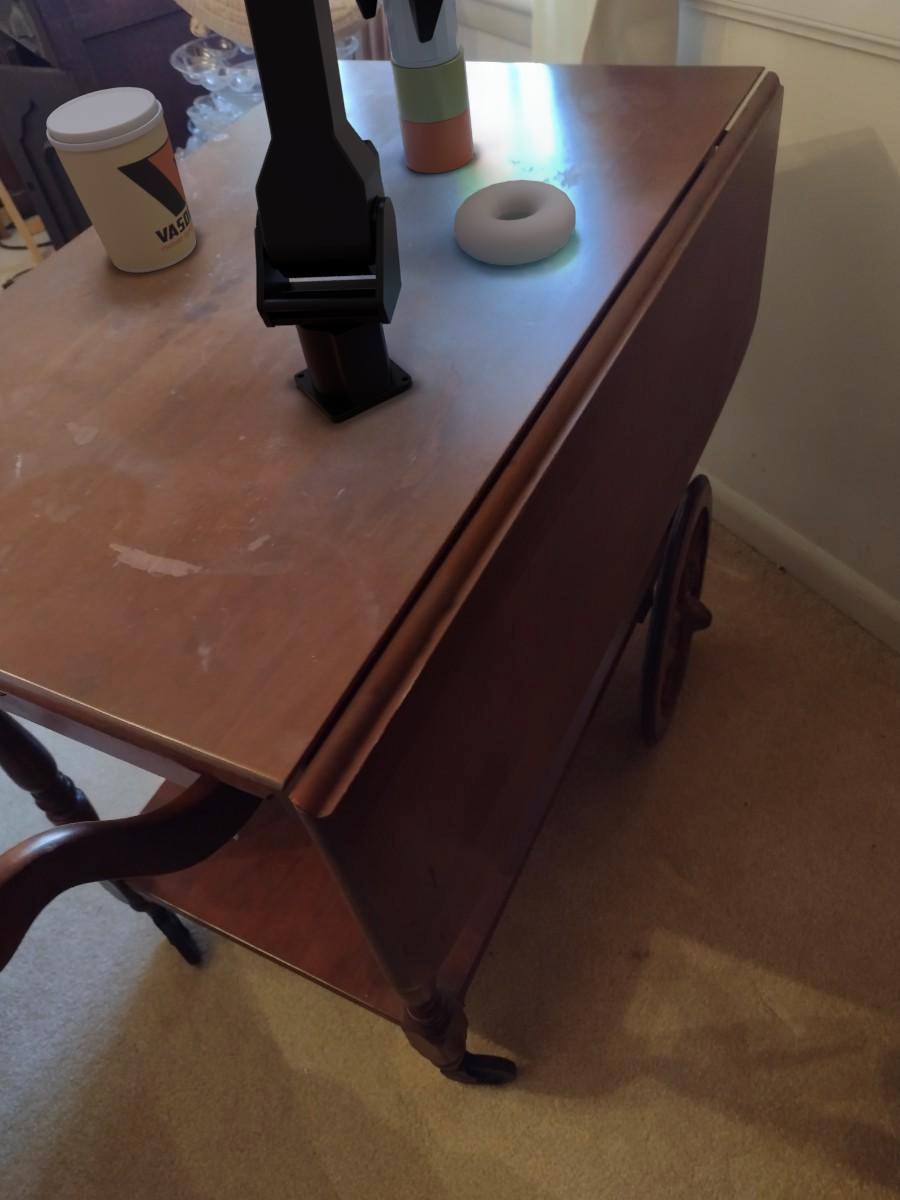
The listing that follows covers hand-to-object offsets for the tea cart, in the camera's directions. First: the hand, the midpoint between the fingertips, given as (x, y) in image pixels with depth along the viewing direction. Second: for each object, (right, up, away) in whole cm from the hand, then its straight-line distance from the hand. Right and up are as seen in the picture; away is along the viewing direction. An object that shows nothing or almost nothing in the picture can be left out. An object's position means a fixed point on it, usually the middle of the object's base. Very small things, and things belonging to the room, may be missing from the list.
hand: (396, 29), depth 75 cm
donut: (+10, -18, 0) cm, 20 cm away
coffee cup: (-22, -16, +7) cm, 28 cm away
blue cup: (+2, +1, +5) cm, 6 cm away
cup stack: (+3, -5, +12) cm, 13 cm away
